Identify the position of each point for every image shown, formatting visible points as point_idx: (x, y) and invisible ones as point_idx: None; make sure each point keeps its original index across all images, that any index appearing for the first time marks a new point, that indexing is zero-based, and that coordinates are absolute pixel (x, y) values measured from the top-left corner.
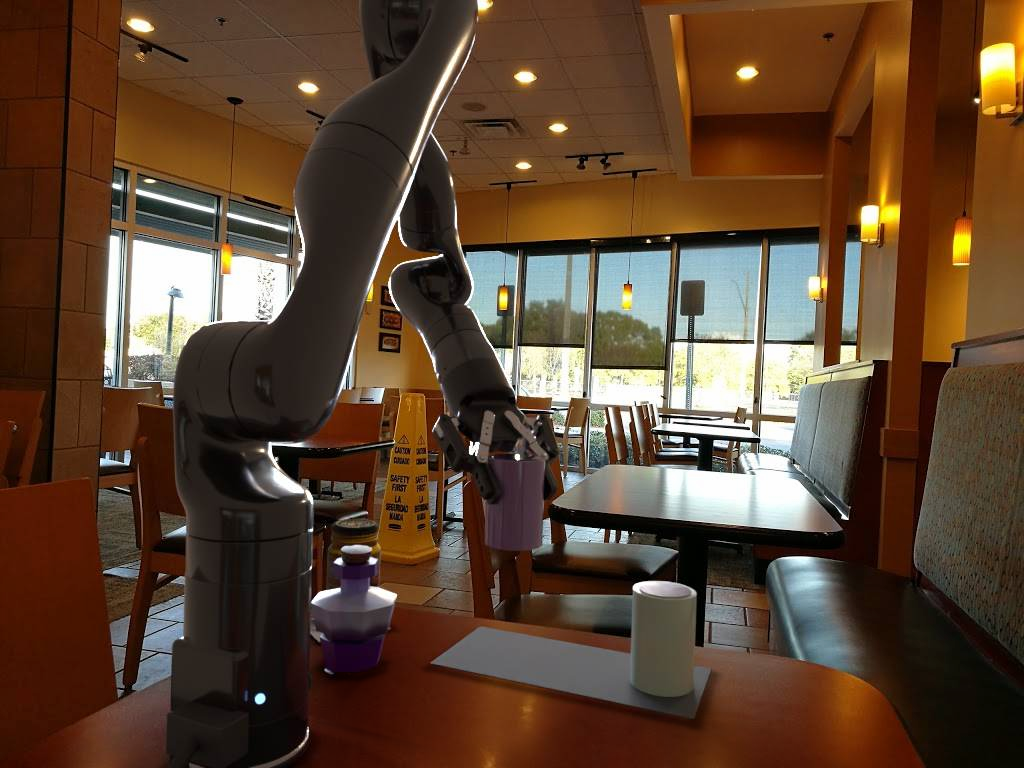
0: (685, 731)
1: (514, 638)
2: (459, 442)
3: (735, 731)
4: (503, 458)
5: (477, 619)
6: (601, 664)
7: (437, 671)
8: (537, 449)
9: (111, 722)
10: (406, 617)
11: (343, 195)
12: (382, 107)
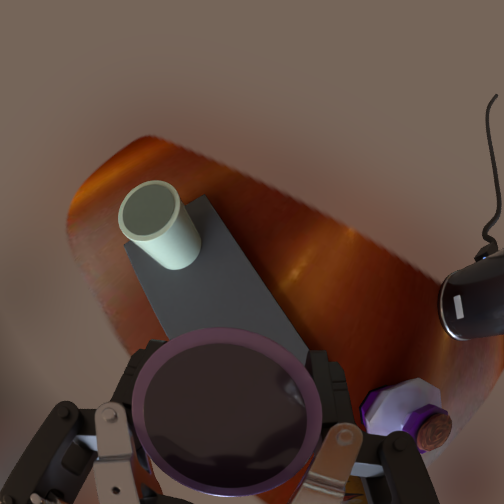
0: (215, 194)
1: None
2: (409, 480)
3: (188, 181)
4: (297, 395)
5: None
6: (189, 299)
7: None
8: (113, 437)
9: (496, 366)
10: (281, 493)
11: None
12: None
